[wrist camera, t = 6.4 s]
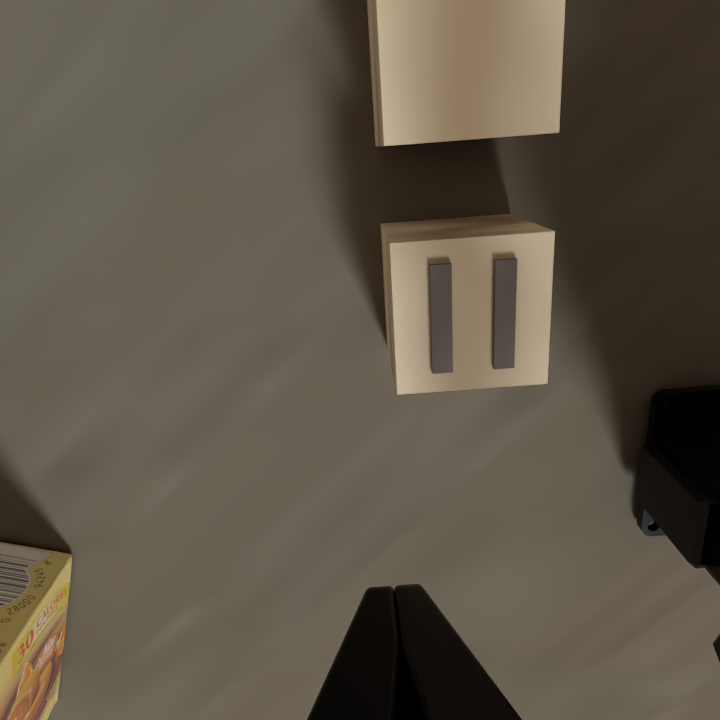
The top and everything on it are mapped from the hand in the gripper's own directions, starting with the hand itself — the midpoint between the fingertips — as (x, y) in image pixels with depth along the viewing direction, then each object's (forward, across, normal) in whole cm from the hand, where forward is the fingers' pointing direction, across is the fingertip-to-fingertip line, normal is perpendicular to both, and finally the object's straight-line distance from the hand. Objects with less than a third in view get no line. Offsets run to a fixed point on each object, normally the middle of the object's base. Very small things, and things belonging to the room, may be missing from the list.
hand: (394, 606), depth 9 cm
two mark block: (+13, -3, -2) cm, 14 cm away
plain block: (+13, -3, -9) cm, 16 cm away
